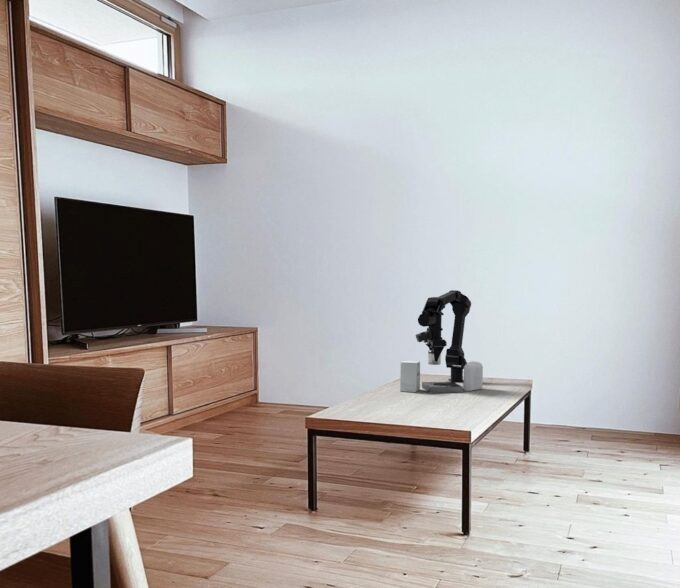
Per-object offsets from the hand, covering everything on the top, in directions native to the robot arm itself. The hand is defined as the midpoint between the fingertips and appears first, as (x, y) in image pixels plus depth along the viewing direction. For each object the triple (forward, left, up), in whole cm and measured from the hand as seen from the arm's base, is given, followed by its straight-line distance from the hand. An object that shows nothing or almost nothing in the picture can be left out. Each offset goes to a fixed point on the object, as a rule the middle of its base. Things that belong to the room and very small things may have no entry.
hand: (434, 360), depth 304 cm
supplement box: (+9, -13, -12) cm, 20 cm away
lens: (0, 0, -2) cm, 2 cm away
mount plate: (+9, +1, -12) cm, 15 cm away
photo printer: (+9, +15, -12) cm, 21 cm away
